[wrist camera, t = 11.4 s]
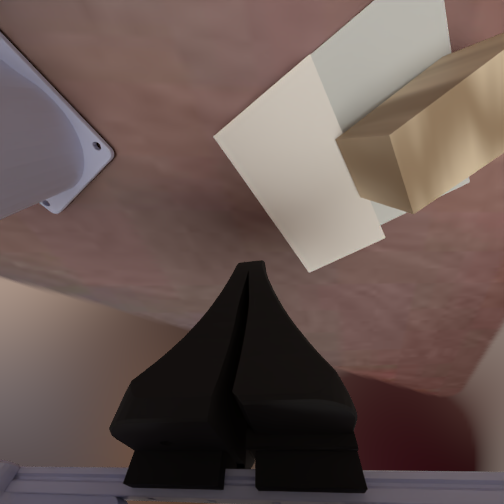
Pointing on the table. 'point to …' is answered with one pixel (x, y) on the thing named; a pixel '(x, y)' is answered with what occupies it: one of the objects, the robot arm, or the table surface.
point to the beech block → (431, 130)
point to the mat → (381, 61)
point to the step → (301, 169)
